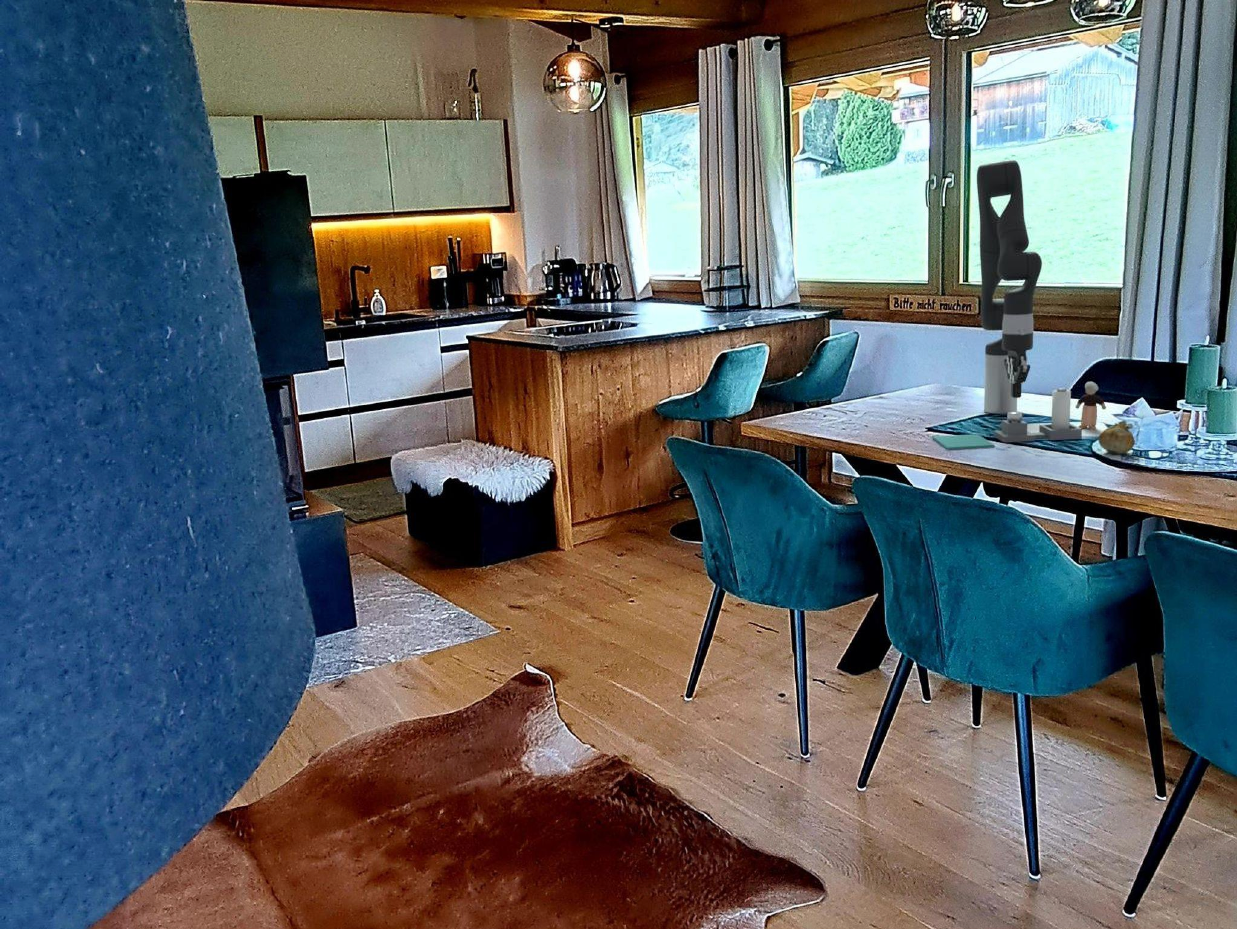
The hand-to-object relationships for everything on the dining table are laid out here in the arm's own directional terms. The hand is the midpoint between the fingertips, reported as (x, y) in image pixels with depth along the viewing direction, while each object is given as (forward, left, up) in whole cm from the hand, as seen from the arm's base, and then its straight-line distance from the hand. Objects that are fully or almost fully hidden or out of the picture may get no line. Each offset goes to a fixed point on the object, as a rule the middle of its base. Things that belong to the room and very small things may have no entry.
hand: (1016, 397), depth 279 cm
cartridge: (0, +12, -11) cm, 16 cm away
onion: (+22, +17, -11) cm, 30 cm away
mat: (+2, -14, -11) cm, 18 cm away
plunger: (0, 0, -9) cm, 9 cm away
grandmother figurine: (-8, +23, -11) cm, 27 cm away
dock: (0, +7, -11) cm, 13 cm away
